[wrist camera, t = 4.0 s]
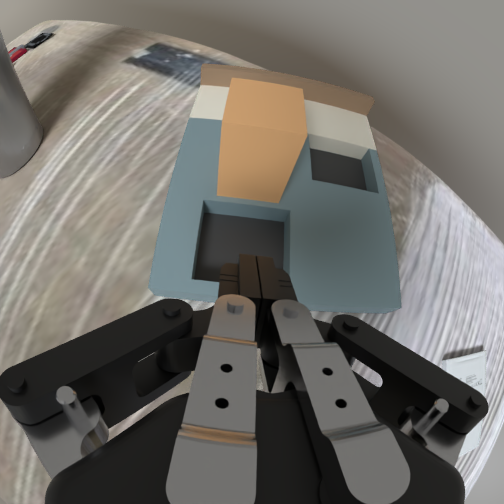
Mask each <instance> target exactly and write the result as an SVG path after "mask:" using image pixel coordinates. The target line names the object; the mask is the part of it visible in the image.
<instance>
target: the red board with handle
mask: <svg viewBox="0 0 504 504" xmlns="http://www.w3.org/2000/svg"><path fill="white" fill-rule="evenodd" d="M51 35H53V33H42V34H40V35H39V36H37V37H36V38H34V39H33V40H32V41H30V42H29V43H27V44H26V45H20V46H19V47H17V48H15V47H14V48H13V49H12V50H10V51H9V52H8V53H9V56H10V59H11V61H12V63H13V62H14V61H15V60H17V59H18V58H19V57H20V56H22V55H23V54H24V53H26V52H27V50H26V49H25V48H24V47H26V48H33V47H34V46H36V45H37V44H39V43H40V42H42V41H43V40H45V39H46V38H48V37H49V36H51Z"/></svg>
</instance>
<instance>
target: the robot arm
mask: <svg viewBox="0 0 504 504" xmlns="http://www.w3.org/2000/svg"><path fill="white" fill-rule="evenodd" d="M42 137H43V129H42V126H41V124H40V122H39V120H38V118H37V116H36V114H35V112H34V110H33V108H32V106H31V104H30V102H29V100H28V98H27V96H26V94H25V91H24V89H23V87H22V85H21V83H20V80H19V78H18V76H17V73H16V71H15V69H14V66H13V64H12V61H11V59H10V56H9V53H8V51H7V48H6V45H5V43H4V40H3V37H2V34H1V31H0V178H4V177H7V176H9V175H11V174H13V173H14V172H16V171H17V170H19V169H20V168H21V167H22V166H23V165H24V164H25V163H26V162H27V161H28V160H29V159H30V158H31V157H32V155H33V154H34V153H35V151H36V150H37V148H38V147H39V144H40V142H41V140H42ZM257 348H260V349H261V354H260V358H259V368H260V373H261V379H262V384H263V389H264V391H259V390H256V376H257ZM154 352H155V353H154ZM152 353H153V354H152ZM150 354H152V355H150ZM149 355H150V356H149ZM147 356H148V357H147ZM145 357H146V358H145ZM143 358H145V359H143ZM141 359H143V360H141ZM355 359H357V360H359V361H360V362H362V363H363V364H365V365H366V366H368V367H369V368H371V369H372V370H374V371H375V372H377V373H378V374H379V375H380V376H381V377H382V380H383V383H382V386H381V387H377V386H375V385H373V384H372V383H370V382H369V381H367V380H366V379H364V378H363V377H361V376H360V375H359V374H357V373H356V372H354V371H353V370H351V367H352V365H353V363H354V361H355ZM140 360H141V361H140ZM138 361H139V362H138ZM191 371H195V372H194V376H193V380H192V384H191V389H190V393H186V394H182V395H179V396H176V397H174V398H171V399H170V400H168V401H166V402H164V403H163V404H161V405H160V406H158V407H157V408H156V409H154V410H153V411H152V412H150V413H149V414H147V415H146V416H145V417H143V418H142V419H140V420H139V421H138V422H136V423H135V424H133V425H132V426H130V427H129V428H127V429H126V430H125V431H123V432H122V433H120V434H119V435H117V436H116V437H114V438H113V439H111V440H110V441H108V442H107V440H108V437H109V430H108V429H109V428H111V427H112V426H114V425H116V424H117V423H119V422H121V421H122V420H124V419H126V418H127V417H129V416H130V415H132V414H133V413H135V412H137V411H138V410H140V409H141V408H143V407H144V406H146V405H148V404H149V403H151V402H152V401H154V400H155V399H157V398H158V397H160V396H161V395H163V394H164V393H166V392H167V391H169V390H170V389H172V388H173V387H175V386H176V385H177V384H179V383H180V382H182V381H183V380H185V379H186V378H187V377H188V376H189V375H190V374H191ZM0 398H1V400H2V401H3V403H4V404H5V405H6V407H7V408H8V410H9V411H10V412H11V415H12V416H13V418H14V419H15V421H16V422H17V423H18V424H19V426H20V427H21V428H22V429H23V430H24V432H25V433H26V435H27V437H28V439H29V441H30V443H31V445H32V447H33V449H34V450H35V452H36V454H37V456H38V458H39V459H40V461H41V463H42V464H43V466H44V468H45V469H46V471H47V472H48V474H49V476H50V477H51V479H52V481H51V482H50V484H49V486H48V488H47V491H46V495H45V504H464V500H465V486H464V482H463V479H462V477H461V475H460V473H459V472H458V470H457V469H456V468H455V467H454V466H455V464H456V461H457V459H458V456H459V454H460V451H461V449H462V446H463V443H464V441H465V438H466V435H467V434H468V433H469V432H470V431H471V430H472V429H473V428H474V427H475V426H476V425H477V424H478V423H479V422H480V421H481V420H482V419H483V418H484V417H485V416H486V414H487V413H488V403H487V400H486V399H485V397H484V396H483V395H482V394H481V393H480V392H479V391H477V390H476V389H474V388H473V387H471V386H469V385H468V384H466V383H464V382H463V381H461V380H459V379H458V378H456V377H454V376H453V375H451V374H449V373H448V372H446V371H444V370H443V369H441V368H439V367H438V366H436V365H434V364H433V363H431V362H430V361H428V360H426V359H425V358H423V357H421V356H420V355H418V354H416V353H415V352H413V351H411V350H410V349H408V348H406V347H405V346H403V345H401V344H400V343H398V342H396V341H395V340H393V339H392V338H390V337H388V336H387V335H385V334H383V333H382V332H380V331H378V330H377V329H375V328H373V327H372V326H370V325H368V324H367V323H365V322H364V321H362V320H360V319H358V318H357V317H354V316H351V315H345V314H342V315H337V316H335V317H334V318H333V320H332V322H331V324H330V323H326V322H322V321H318V320H315V319H313V318H312V315H311V313H310V311H309V310H308V308H307V307H306V306H305V305H303V304H301V303H299V302H298V300H297V297H296V294H295V291H294V288H293V285H292V282H291V279H290V276H289V274H288V273H287V272H286V271H285V270H283V269H279V268H275V264H274V261H273V257H267V256H258V255H256V256H255V255H249V254H240V253H239V256H238V263H237V264H234V263H225V264H224V265H223V266H222V267H221V272H220V281H219V290H218V299H217V300H216V301H215V305H214V306H212V307H211V308H208V309H205V310H200V311H193V309H192V307H191V306H190V305H189V304H188V303H186V302H185V301H182V300H179V299H163V300H160V301H157V302H155V303H153V304H151V305H148V306H146V307H144V308H142V309H140V310H137V311H135V312H133V313H131V314H129V315H126V316H124V317H122V318H120V319H117V320H115V321H113V322H111V323H109V324H106V325H104V326H102V327H100V328H97V329H95V330H93V331H91V332H89V333H86V334H84V335H82V336H80V337H77V338H75V339H73V340H71V341H68V342H66V343H64V344H62V345H59V346H57V347H55V348H53V349H51V350H48V351H46V352H44V353H42V354H39V355H37V356H35V357H32V358H30V359H28V360H26V361H23V362H21V363H19V364H17V365H14V366H12V367H10V368H8V369H7V370H5V371H4V372H3V373H2V374H1V376H0ZM106 442H107V443H106Z"/></svg>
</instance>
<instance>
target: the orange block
mask: <svg viewBox="0 0 504 504" xmlns="http://www.w3.org/2000/svg"><path fill="white" fill-rule="evenodd" d="M307 136H308V135H307V124H306V114H305V104H304V95H303V89H301V88H296V87H291V86H286V85H281V84H275V83H269V82H263V81H256V80H249V79H241V78H232V79H231V83H230V87H229V92H228V96H227V101H226V105H225V110H224V114H223V119H222V126H221V139H220V153H219V168H218V184H217V196H224V197H233V198H241V199H249V200H257V201H265V202H272V203H279V201H280V199H281V196H282V194H283V192H284V189H285V187H286V185H287V182H288V180H289V178H290V175H291V173H292V171H293V168H294V166H295V164H296V161H297V159H298V157H299V154H300V152H301V150H302V147H303V145H304V143H305V140H306V138H307Z"/></svg>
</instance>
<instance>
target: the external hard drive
mask: <svg viewBox="0 0 504 504" xmlns="http://www.w3.org/2000/svg"><path fill="white" fill-rule="evenodd" d="M442 369H443V370H444V371H446V372H448V373H449V374H451V375H453V376H454V377H456V378H458V379H459V380H461V381H463V382H464V383H466V384H468V385H469V386H471V387H473V388H474V389H476V390H477V391H479V392H480V393H481V394H482V395H483V396H484V397H485V391H486V350H485V351H480V352H476V353H473V354H469V355H465V356H460V357H456V358H451V359H446V360H442ZM482 422H483V419H482V420H481V421H480V422H479V423H478V424H477V425H476V426H475V427H474V428H473V429H472V430H471V431H470V432H469V433H468V434H467V435H466V438H465V441H464V443H463V446H462V449H461V451H460V454H459V456H458V458H459V457H461V456H462V455H464V454H466V453H468V452H470V451H471V450H473V449H475V448H476V447H478V446H479V442H480V436H481V429H482Z"/></svg>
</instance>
